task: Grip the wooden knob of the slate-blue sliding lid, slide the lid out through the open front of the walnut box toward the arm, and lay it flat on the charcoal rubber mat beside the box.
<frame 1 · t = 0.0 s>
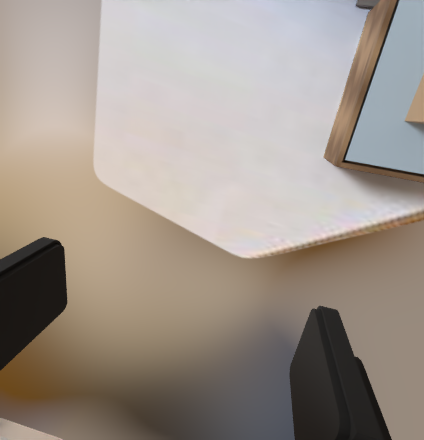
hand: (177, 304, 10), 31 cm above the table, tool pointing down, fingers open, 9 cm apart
walnut box: (404, 101, 32), on the table
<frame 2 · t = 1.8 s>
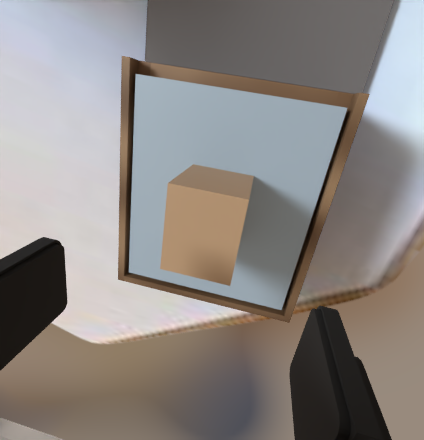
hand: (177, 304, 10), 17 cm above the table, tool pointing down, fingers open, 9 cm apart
lid: (219, 201, 19), point 6 cm above the table, touching walnut box
walnut box: (229, 181, 25), on the table
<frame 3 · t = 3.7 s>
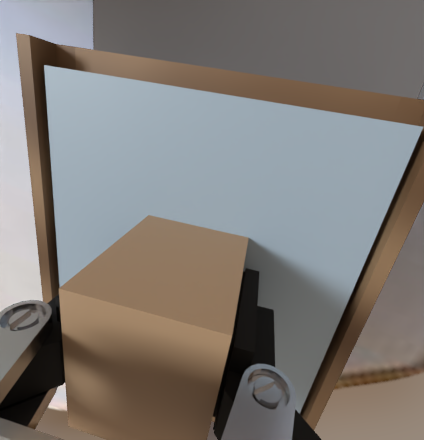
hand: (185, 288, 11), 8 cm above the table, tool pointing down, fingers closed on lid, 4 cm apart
lid: (195, 267, 12), point 6 cm above the table, touching gripper, walnut box
walnut box: (218, 221, 18), on the table
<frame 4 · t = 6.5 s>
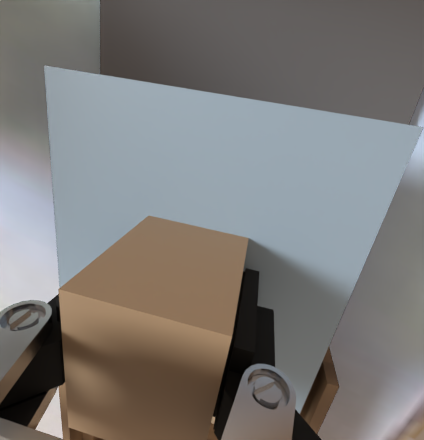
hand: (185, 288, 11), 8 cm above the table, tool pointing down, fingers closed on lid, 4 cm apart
mat: (235, 145, 16), on the table
lid: (195, 268, 12), point 6 cm above the table, touching gripper
walnut box: (199, 350, 22), on the table
when the fingers open (4 cm above the table, at t = 9.4 s): lid drops 1 cm, resting on mat.
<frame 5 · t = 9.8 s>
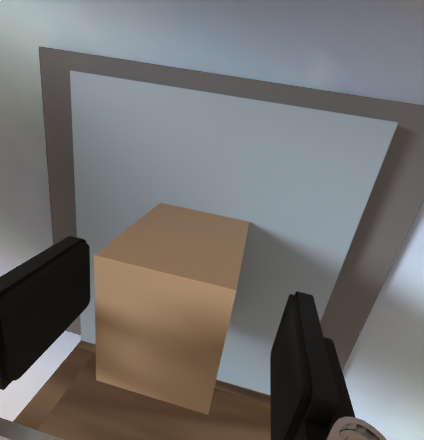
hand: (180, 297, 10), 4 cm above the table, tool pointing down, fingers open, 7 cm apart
mat: (204, 248, 14), on the table
lid: (201, 251, 14), resting on mat
walnut box: (172, 439, 20), on the table
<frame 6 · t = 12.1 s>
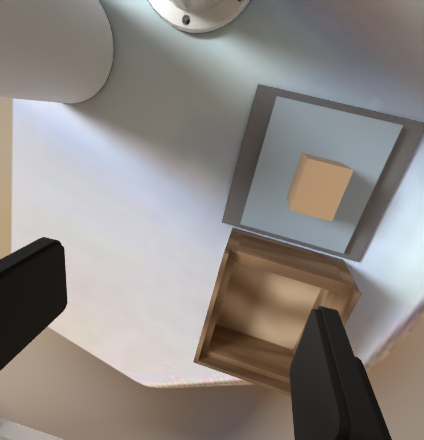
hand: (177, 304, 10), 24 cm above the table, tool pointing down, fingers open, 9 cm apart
cylinder vase: (67, 45, 31), on the table
mat: (310, 178, 31), on the table
lid: (311, 178, 30), resting on mat
walnut box: (267, 294, 37), on the table
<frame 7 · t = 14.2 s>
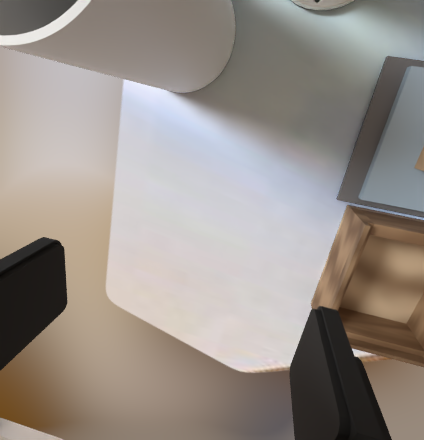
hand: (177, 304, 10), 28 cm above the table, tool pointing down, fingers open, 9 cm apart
cylinder vase: (183, 35, 32), on the table
walnut box: (379, 270, 37), on the table
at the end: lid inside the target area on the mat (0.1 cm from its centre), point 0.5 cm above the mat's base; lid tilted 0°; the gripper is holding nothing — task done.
